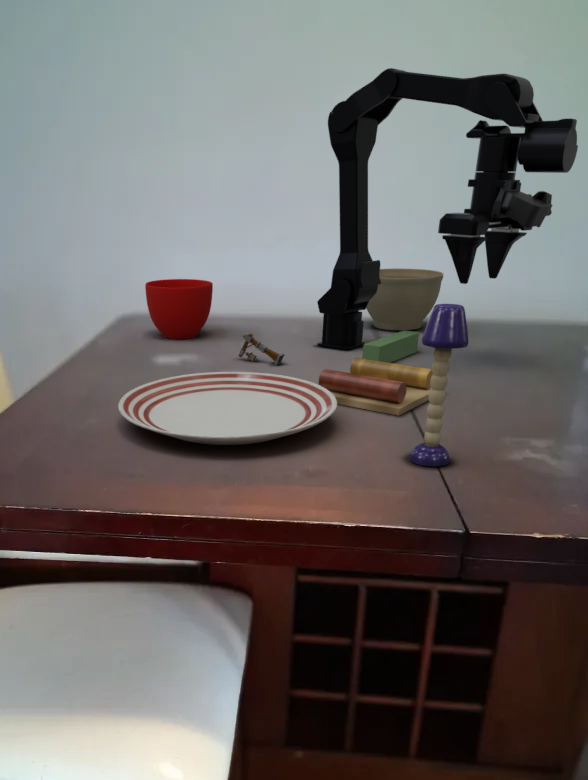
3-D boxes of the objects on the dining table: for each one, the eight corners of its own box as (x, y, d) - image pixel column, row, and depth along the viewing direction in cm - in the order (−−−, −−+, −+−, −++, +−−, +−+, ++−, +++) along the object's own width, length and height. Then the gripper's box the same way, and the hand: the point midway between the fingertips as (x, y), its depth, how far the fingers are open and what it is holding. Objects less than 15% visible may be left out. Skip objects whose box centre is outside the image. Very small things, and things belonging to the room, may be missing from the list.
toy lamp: (402, 453, 84) (419, 301, 77) (442, 451, 84) (462, 301, 78) (417, 468, 80) (435, 309, 73) (459, 466, 80) (481, 308, 73)
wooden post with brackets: (237, 352, 128) (247, 328, 126) (274, 375, 126) (285, 352, 124) (232, 354, 127) (242, 330, 124) (269, 378, 125) (280, 355, 122)
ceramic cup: (235, 330, 151) (235, 279, 147) (189, 345, 138) (188, 289, 134) (182, 324, 158) (181, 275, 154) (133, 337, 145) (131, 284, 141)
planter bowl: (376, 317, 164) (380, 266, 159) (448, 325, 155) (455, 271, 151) (343, 329, 152) (347, 273, 147) (419, 338, 143) (426, 279, 139)
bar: (361, 365, 123) (363, 344, 122) (401, 349, 134) (403, 330, 132) (378, 367, 121) (379, 346, 120) (417, 352, 132) (419, 332, 130)
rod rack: (307, 398, 105) (308, 371, 104) (355, 378, 115) (357, 354, 113) (398, 415, 97) (401, 387, 95) (442, 393, 107) (445, 367, 105)
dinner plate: (273, 476, 78) (274, 446, 76) (74, 433, 91) (71, 407, 90) (368, 411, 99) (370, 387, 97) (195, 384, 112) (195, 362, 111)
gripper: (518, 172, 99) (498, 292, 106) (576, 172, 111) (555, 281, 118) (443, 172, 107) (429, 284, 113) (505, 172, 118) (489, 273, 125)
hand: (478, 280), depth 117 cm, fingers open, 9 cm apart
